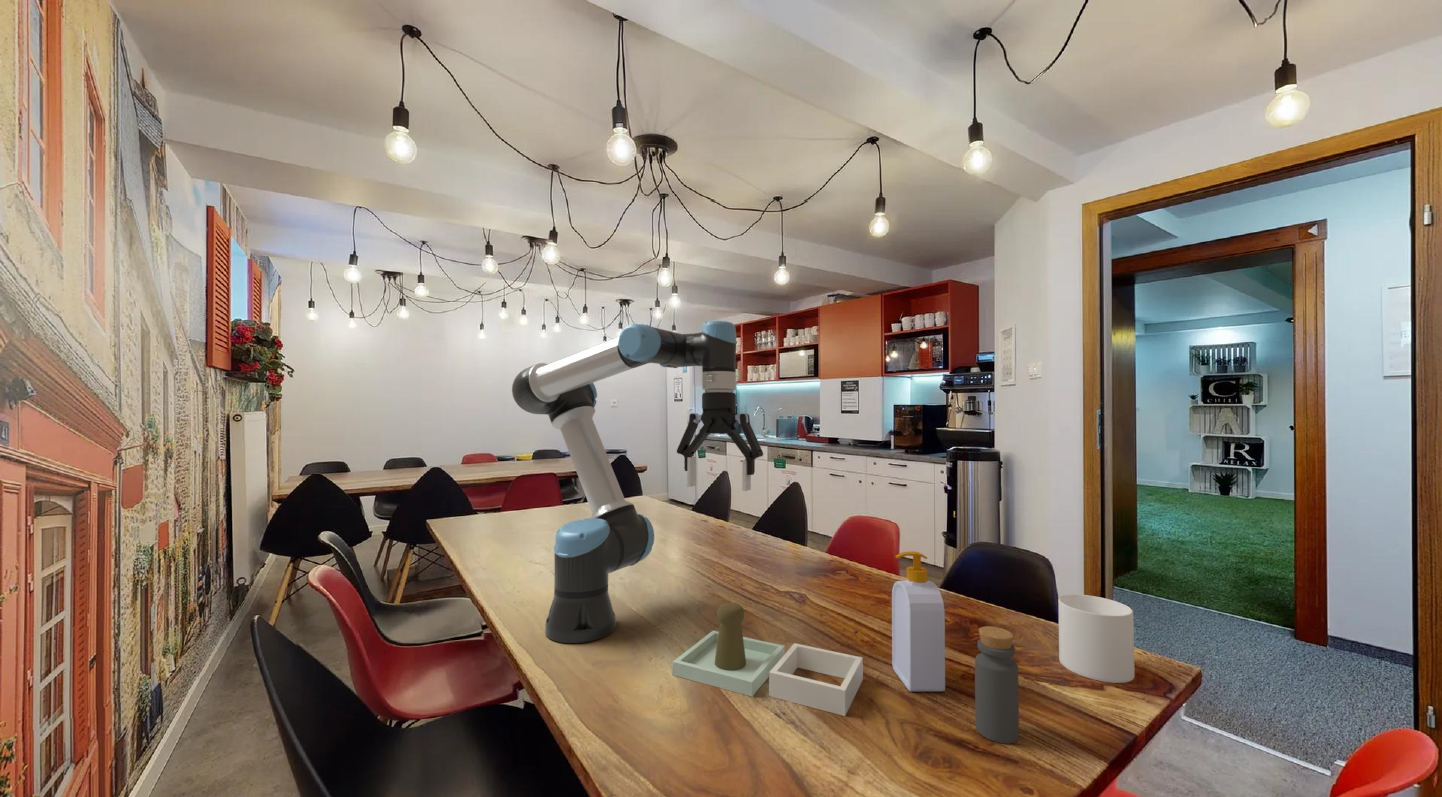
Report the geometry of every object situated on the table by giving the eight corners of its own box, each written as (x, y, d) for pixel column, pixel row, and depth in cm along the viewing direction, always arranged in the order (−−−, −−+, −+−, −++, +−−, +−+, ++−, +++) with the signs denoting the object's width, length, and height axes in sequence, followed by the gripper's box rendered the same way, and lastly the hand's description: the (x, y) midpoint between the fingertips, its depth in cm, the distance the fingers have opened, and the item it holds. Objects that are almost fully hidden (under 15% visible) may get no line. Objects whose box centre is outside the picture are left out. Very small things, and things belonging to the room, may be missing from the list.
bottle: (967, 721, 83) (967, 624, 83) (1003, 720, 83) (1002, 623, 84) (989, 744, 77) (988, 640, 77) (1027, 743, 77) (1026, 639, 78)
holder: (769, 695, 90) (769, 672, 90) (794, 664, 102) (794, 642, 102) (845, 716, 84) (845, 690, 84) (862, 679, 96) (862, 657, 96)
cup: (1067, 648, 109) (1066, 590, 110) (1139, 668, 101) (1137, 604, 101) (1052, 667, 101) (1051, 604, 101) (1128, 690, 93) (1127, 621, 93)
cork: (743, 672, 97) (743, 611, 97) (711, 668, 98) (711, 608, 99) (748, 657, 103) (748, 600, 103) (718, 654, 104) (718, 598, 105)
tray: (672, 674, 97) (672, 661, 97) (713, 641, 111) (713, 630, 111) (752, 696, 90) (752, 682, 90) (784, 658, 104) (784, 645, 104)
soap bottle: (887, 668, 100) (887, 546, 101) (924, 667, 100) (923, 546, 101) (905, 693, 91) (905, 559, 92) (945, 692, 91) (944, 559, 92)
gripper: (662, 391, 119) (661, 486, 119) (764, 390, 108) (764, 494, 107) (679, 393, 126) (679, 482, 125) (778, 391, 115) (777, 489, 114)
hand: (718, 488), depth 116 cm, fingers open, 13 cm apart
